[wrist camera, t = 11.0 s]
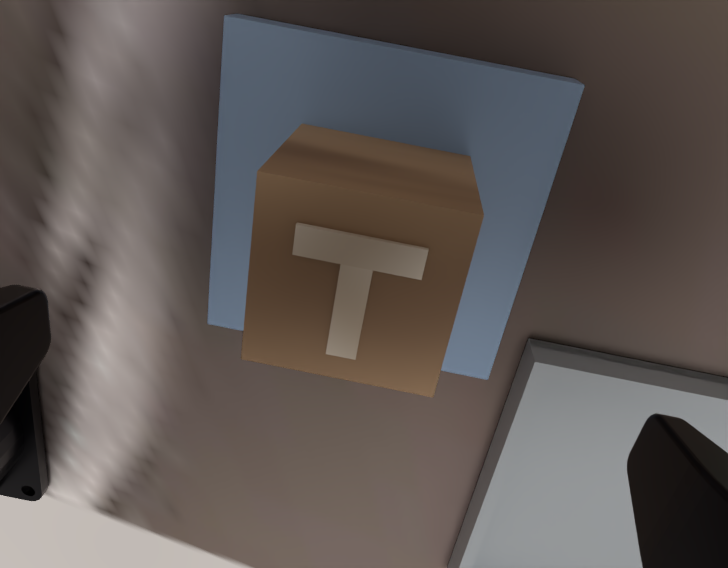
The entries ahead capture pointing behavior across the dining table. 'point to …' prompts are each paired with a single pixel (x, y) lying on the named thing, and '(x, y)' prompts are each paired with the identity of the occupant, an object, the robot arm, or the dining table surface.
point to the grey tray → (575, 458)
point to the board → (395, 123)
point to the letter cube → (359, 258)
